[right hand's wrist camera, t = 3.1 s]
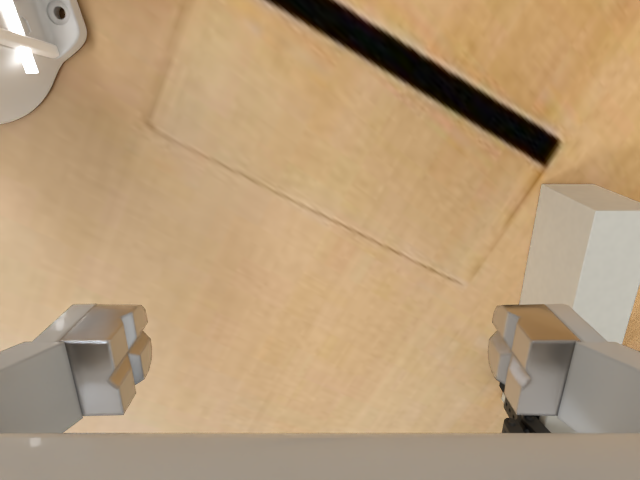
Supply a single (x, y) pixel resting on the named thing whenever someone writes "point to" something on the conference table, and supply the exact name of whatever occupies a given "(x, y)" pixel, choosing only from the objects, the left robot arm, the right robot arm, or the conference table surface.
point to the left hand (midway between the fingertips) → (531, 375)
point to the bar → (584, 260)
